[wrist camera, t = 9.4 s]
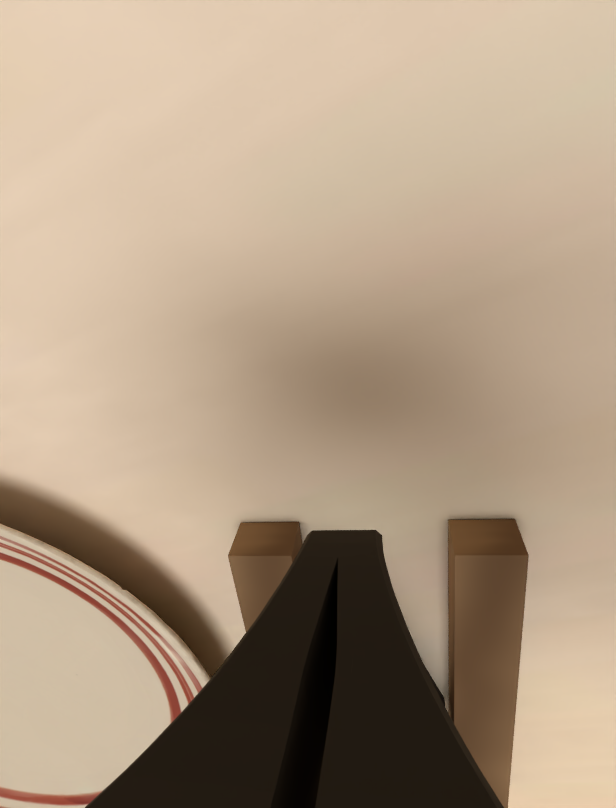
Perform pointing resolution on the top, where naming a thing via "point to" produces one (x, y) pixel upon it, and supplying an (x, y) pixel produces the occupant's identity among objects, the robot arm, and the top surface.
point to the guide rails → (468, 623)
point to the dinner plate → (79, 677)
